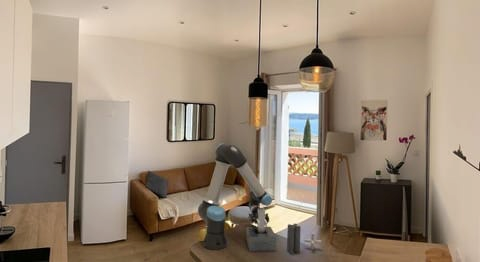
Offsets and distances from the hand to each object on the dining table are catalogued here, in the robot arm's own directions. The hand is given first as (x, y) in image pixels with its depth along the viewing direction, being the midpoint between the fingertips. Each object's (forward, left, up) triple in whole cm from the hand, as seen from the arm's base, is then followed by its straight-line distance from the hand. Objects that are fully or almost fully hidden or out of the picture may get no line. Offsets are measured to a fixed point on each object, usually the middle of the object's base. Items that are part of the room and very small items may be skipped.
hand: (262, 224), depth 182 cm
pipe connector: (+28, +15, -16) cm, 35 cm away
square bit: (-3, +5, -12) cm, 13 cm away
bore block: (-3, +5, -15) cm, 16 cm away
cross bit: (+18, +6, -15) cm, 25 cm away
